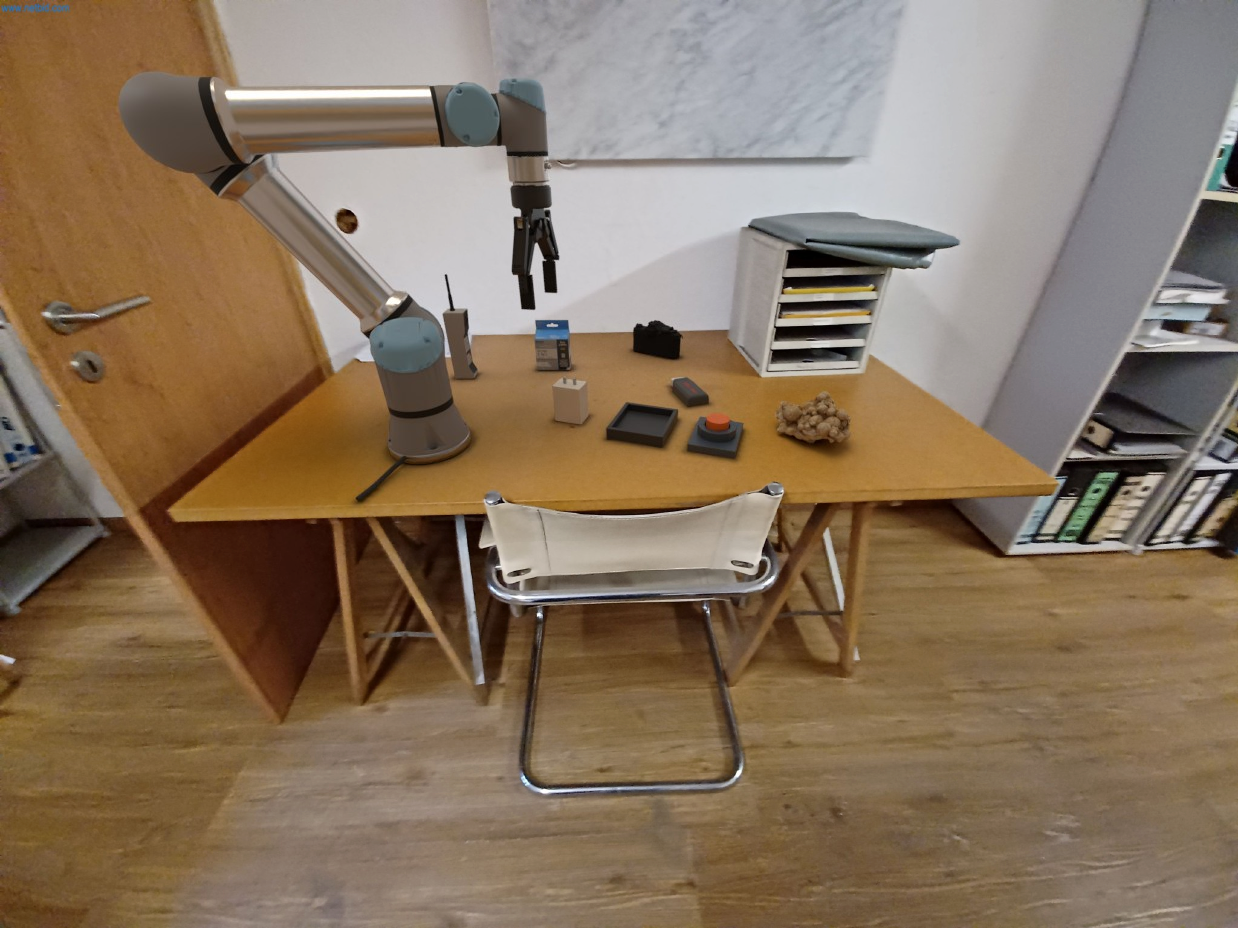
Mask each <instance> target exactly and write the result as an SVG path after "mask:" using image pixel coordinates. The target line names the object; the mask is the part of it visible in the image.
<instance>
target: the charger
mask: <svg viewBox="0 0 1238 928" xmlns="http://www.w3.org/2000/svg"><path fill="white" fill-rule="evenodd" d="M551 388H552V400H553V411H554V421H556V422H561V423H563V422H564V423H567V424H573V425H574V424H575V425H582V424H583V423H584V422H585V421H586V420H587V418H588V417H589V415H590V413H589V391H588V381H586V380H578V379H577V378H576V377H572V378H567V376H566V375H564V376H562V377H561V378H559V379H558V380H557V381H556V382H555V383H553V385H552V386H551Z"/></svg>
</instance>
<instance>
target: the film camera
mask: <svg viewBox="0 0 1238 928" xmlns="http://www.w3.org/2000/svg"><path fill="white" fill-rule="evenodd" d="M683 338H684V336H683V334H681V332H679V331H678V329H675V328H674V326H670V325H668V324H665V322H663V321H660V320H656V319H655V320H651V321H649V322H648V323H647V325H643V324H642V323H638V322H637V323H635V326H634V327H633V330H632V342H633V343H632V350H633V352H635V353H640V354H644V355H649V356H653V357H658V358H663V359H670V360H677V359H679V358H680V356H681V355H680V354H681V343H682V342H681V339H682V340H683Z"/></svg>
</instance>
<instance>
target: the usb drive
mask: <svg viewBox="0 0 1238 928" xmlns="http://www.w3.org/2000/svg"><path fill="white" fill-rule="evenodd" d="M670 386H671V392H672V393H673V395H674V396H676V397H677V399H678V400H680V401H681V403H683V404H684V406H686V407H687V408H691V407H697V406H704V405H709V403H710V396H709V394H708V393H707V392H705V391H704V390H703V389H702V388H701V387H700V385H698V384H697V383H696V382H695V381H693V380H691V378H689V377H687V376H685V377H684V376H679V377H672V378H670Z"/></svg>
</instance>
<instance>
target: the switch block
mask: <svg viewBox="0 0 1238 928" xmlns="http://www.w3.org/2000/svg"><path fill="white" fill-rule="evenodd" d="M706 419H707V416H699V418H698V420H697V422H696V424H695V427H694V429H693V430H692V433H691V435H690V438H689V440H688V442H687V444H686V452H690V453H695V454H701V455H707V456H714V457H720V458H725V459H726V458H727V459H731V460H735V458H736V456H737V455H736V454H737V451H738V448H739V444H740V440H741V437H742V434H743V430H744V425H745V424H744V422H741V421H735V420H733V419H730V421H729V428H728V429H727V430H726V431H713V430H710V429H708V428H707V427H706Z"/></svg>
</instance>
